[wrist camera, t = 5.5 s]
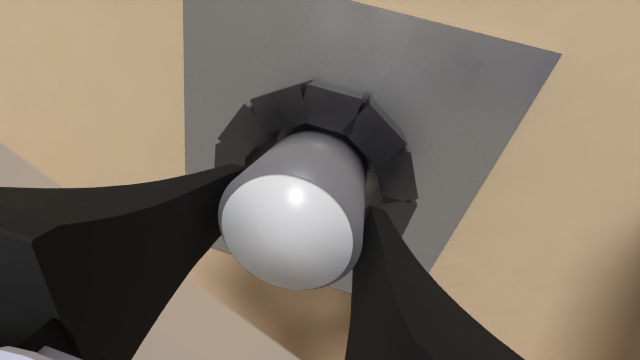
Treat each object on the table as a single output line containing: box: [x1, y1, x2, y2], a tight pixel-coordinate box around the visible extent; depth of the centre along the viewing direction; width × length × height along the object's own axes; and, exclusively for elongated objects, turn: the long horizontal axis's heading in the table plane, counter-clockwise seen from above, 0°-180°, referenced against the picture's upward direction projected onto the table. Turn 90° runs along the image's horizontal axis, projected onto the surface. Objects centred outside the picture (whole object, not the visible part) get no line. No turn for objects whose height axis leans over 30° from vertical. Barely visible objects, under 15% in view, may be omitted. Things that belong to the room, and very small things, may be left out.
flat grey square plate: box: [183, 0, 562, 294], centre depth 13 cm, size 16×16×3 cm
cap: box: [218, 124, 367, 290], centre depth 11 cm, size 5×5×6 cm
